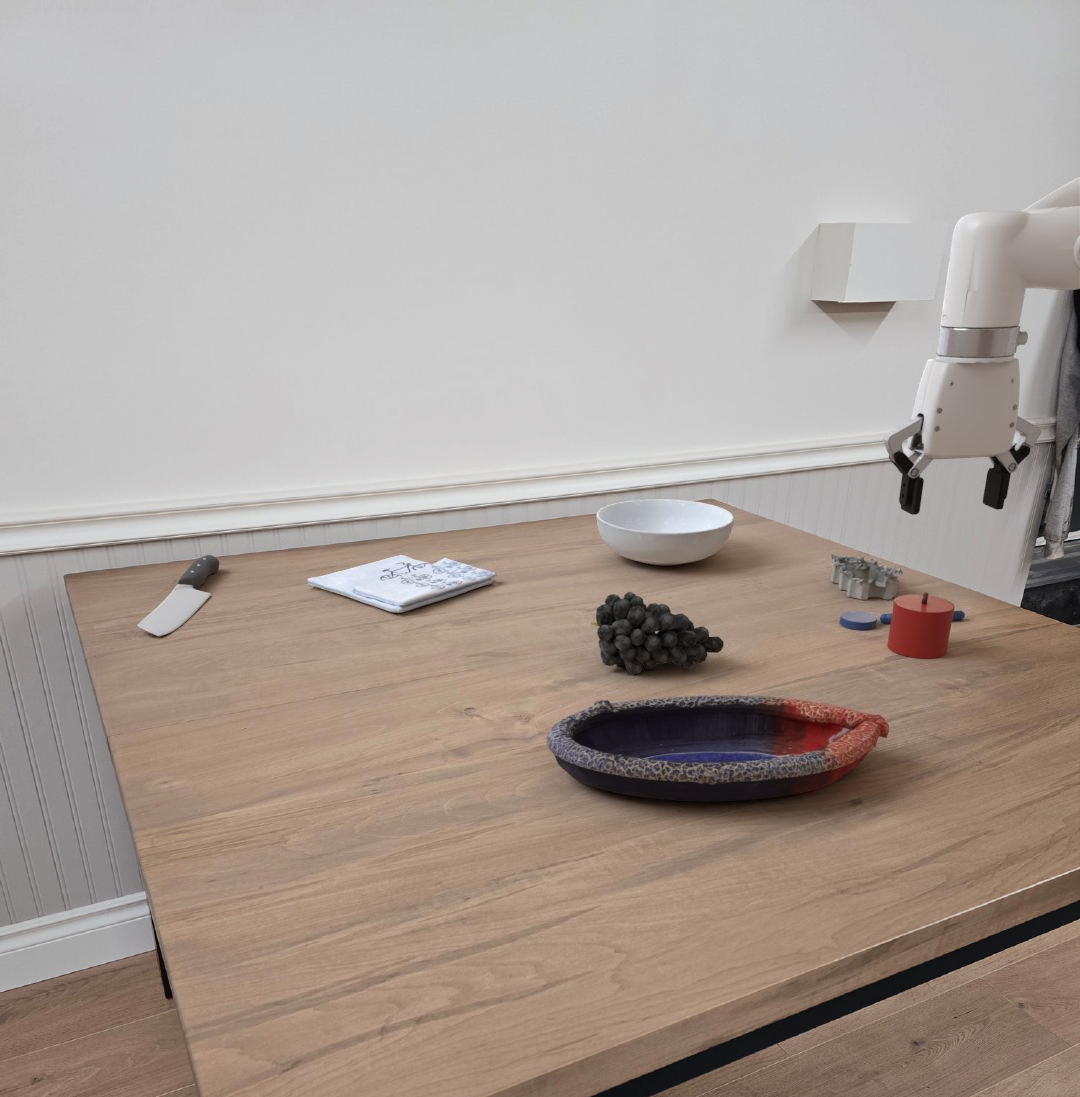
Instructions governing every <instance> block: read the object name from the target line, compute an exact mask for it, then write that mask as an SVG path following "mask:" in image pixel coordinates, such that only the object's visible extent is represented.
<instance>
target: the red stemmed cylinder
mask: <svg viewBox="0 0 1080 1097" xmlns="http://www.w3.org/2000/svg"><path fill="white" fill-rule="evenodd" d="M955 608H956V606H955V604H954V603H953V602H951V601H950V600H948V599H945V598H942V597H939V596H934V595H929V593H928V592H923V593H922V594H905V595H900V596H897V597H895V598H894V600H893V605H892V613H891V614H892V618H891V623H889V631H888V638H887V643H886V644H887V645H886V646H887V648H888V650H890V651H891V652H893V653H895V654H896V655H897V654H898V655H900V656H903V657H908V658H914V659H937V658H940V657H943V656H945V655H946V654H947V652H948V651H947V650H948V645H949V641H950V635H951V629H952V624H953V620H952V619H953V613H954V611H955Z"/></svg>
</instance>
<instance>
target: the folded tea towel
mask: <svg viewBox="0 0 1080 1097" xmlns="http://www.w3.org/2000/svg"><path fill="white" fill-rule="evenodd" d="M497 575H498V574H497V573H496V572H493V571H492V570H488V569H483V568H479V567H476V566H473V565H469V564H466V563H463V562H461V561H457V560H453V559H449V558H447V557H443V558H441V559H440V560H437V562H434V563H431V562H426V561H422V560H419V559H414V558H411V557H410V556H407V555H403V554H399V555H395V556H391V557H387V558H384V559H380V560H377V561H373V562H369V563H365V564H361V565H357V566H354V567H351V568H347V569H343V570H339V571H335V572H332V573H327V574H324V575H320V576H313V577H309V578H307V585H308V587H313V588H319V589H321V590H324V591H328V592H331V593H334V594H337V595H341V596H345V597H346V598H350V599H352V600H356V601H358V602H361V603H363V604H365V605H370V606H372V607H375V608H379V609H381V610H385V611H387V612H389V613H395V614H402V613H405V612H408V611H411V610H414V609H415V610H416V609H419V608H421V607H424V606H428V605H430V604H433V603H437V602H440V601H443V600H446V599H450V598H454V597H456V596H459V595H461V594H462V595H463V594H465V593H468V592H471V591H473V590H476V589H478V588H481V587H485V586H488V585H492V584H494V582H495V580H494V579H493V578H495V577H497Z"/></svg>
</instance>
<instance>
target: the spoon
mask: <svg viewBox="0 0 1080 1097" xmlns="http://www.w3.org/2000/svg"><path fill="white" fill-rule="evenodd" d="M965 616H966V613H965V612H964V611H963V610H960V609H959V610H954V613H953V619H952V621H962V620H964V618H965ZM891 618H892V613H883V614H881V615H880V616H879V621H880V623H882V624H891ZM877 619H878V618H877V616H876V615H875V614H872V613H869V612H865V611H857V610H852V611H851V610H850V611H845V612H842V613H841V614H840V617H839V624H840V626H842V627H845V628H846V629H849V630H856V631H868V630H873V629H875V628H876V627H877V622H878V620H877Z"/></svg>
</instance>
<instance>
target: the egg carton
mask: <svg viewBox="0 0 1080 1097" xmlns="http://www.w3.org/2000/svg"><path fill="white" fill-rule="evenodd" d="M831 561H832V568H831V575H830V582H831V583H833V584H838V589H839V590H840V591H846V597H848V598H852V599H857V600H860V601H867V600H868V599H869V598H880V599H883V600H885V599H886V600H892V598H896V596H897V594H898V590H899V585H900V581H899V579H898V577H899V576H903V575H904V573H903V570H902V568H899V567H894V568H893V567H890V566H886V565H883V564H878V560H876V559H874V558H871V559H870V560H869V561H868V560H865V558H864V556H860V557H856V556H847V555H844V556H837V555H834V554H831Z"/></svg>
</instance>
